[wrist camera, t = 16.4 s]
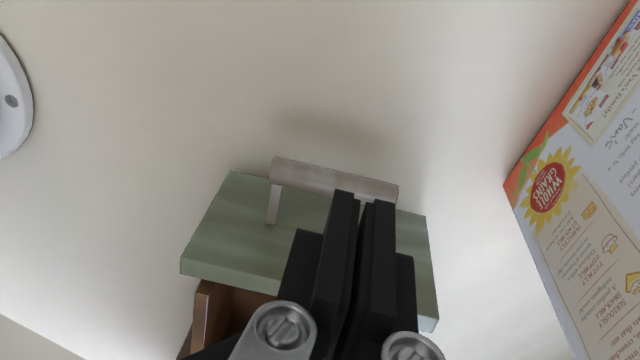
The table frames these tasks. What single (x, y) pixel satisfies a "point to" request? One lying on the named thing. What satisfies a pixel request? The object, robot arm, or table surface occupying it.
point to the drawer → (281, 243)
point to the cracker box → (590, 200)
